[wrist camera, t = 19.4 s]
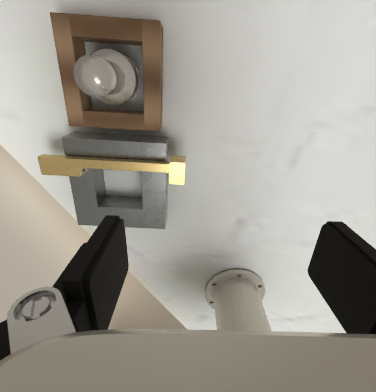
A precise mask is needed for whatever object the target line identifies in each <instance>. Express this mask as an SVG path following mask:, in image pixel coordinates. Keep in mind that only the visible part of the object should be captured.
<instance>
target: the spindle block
mask: <svg viewBox="0 0 376 392" xmlns="http://www.w3.org/2000/svg"><path fill="white" fill-rule="evenodd" d="M62 141H63V146H64V151H65V156H80V157H98V158H116V159H133V160H151V161H168V137H151V136H135V135H118V134H102V133H85V132H74V133H71V134H69V135H67V136H64V137H62ZM83 172H84V174H83V175H81V176H80V177H78V176H69V178H70V183H71V188H72V193H73V199H74V204H75V209H76V215H77V220H78V224H79V225H94V226H99V224H100V223H101V222H102V220H103V219H104V217H105V216H106V215H116V216H119V217H120V219H123V220H124V227H136V228H157V229H165V225H166V218H167V185H168V173H166V172H148V171H142V197H123V196H106V191H105V182H104V174H103V169H94V168H83Z"/></svg>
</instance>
